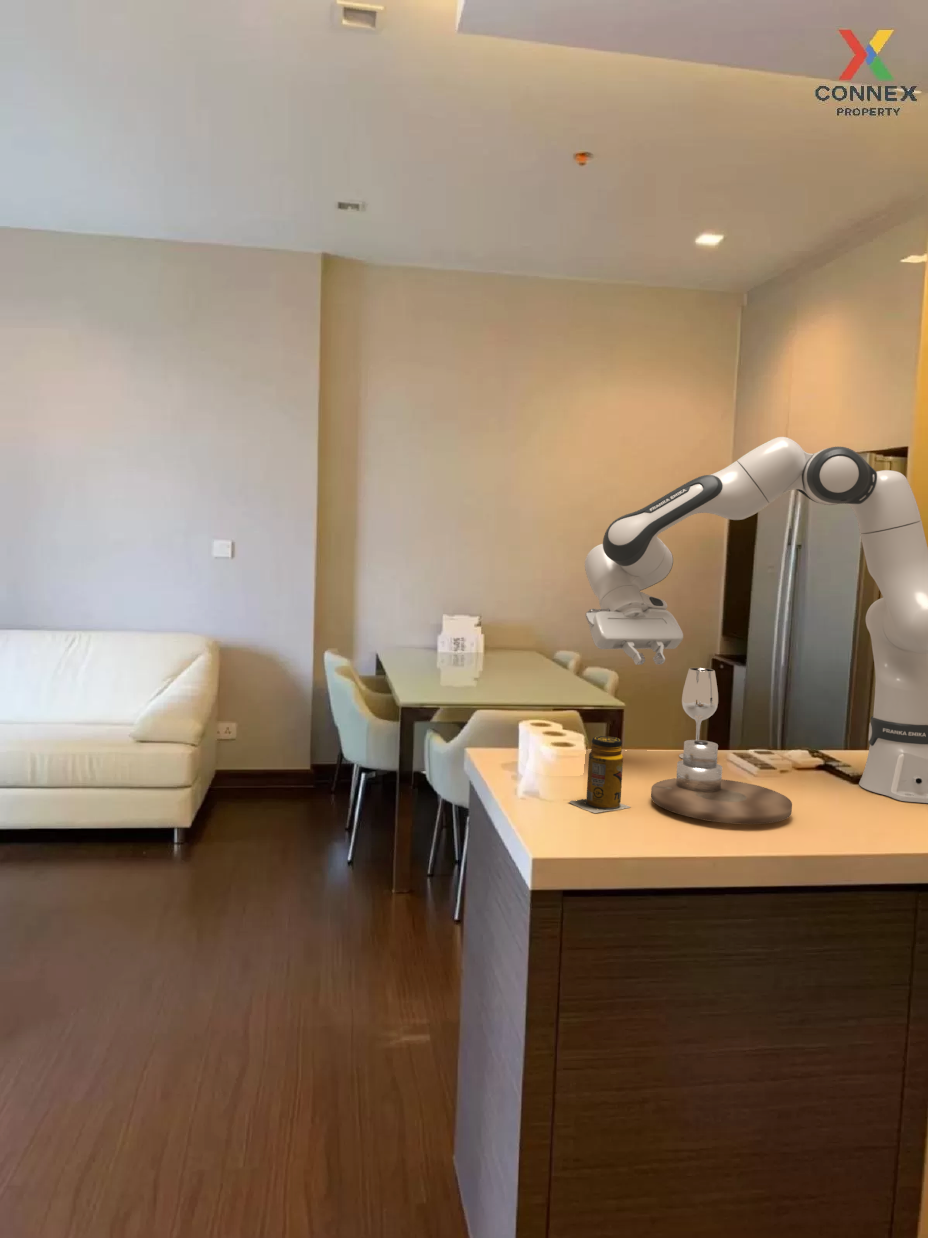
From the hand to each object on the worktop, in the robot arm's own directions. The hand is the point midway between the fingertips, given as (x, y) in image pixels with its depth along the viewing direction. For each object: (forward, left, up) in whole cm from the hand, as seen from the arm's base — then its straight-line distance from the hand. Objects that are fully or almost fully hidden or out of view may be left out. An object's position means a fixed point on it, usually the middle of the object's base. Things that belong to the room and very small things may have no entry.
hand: (650, 662), depth 175 cm
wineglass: (-8, -24, -24) cm, 35 cm away
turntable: (-16, +16, -22) cm, 32 cm away
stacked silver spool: (-12, +12, -21) cm, 26 cm away
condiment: (+4, +24, -24) cm, 34 cm away
